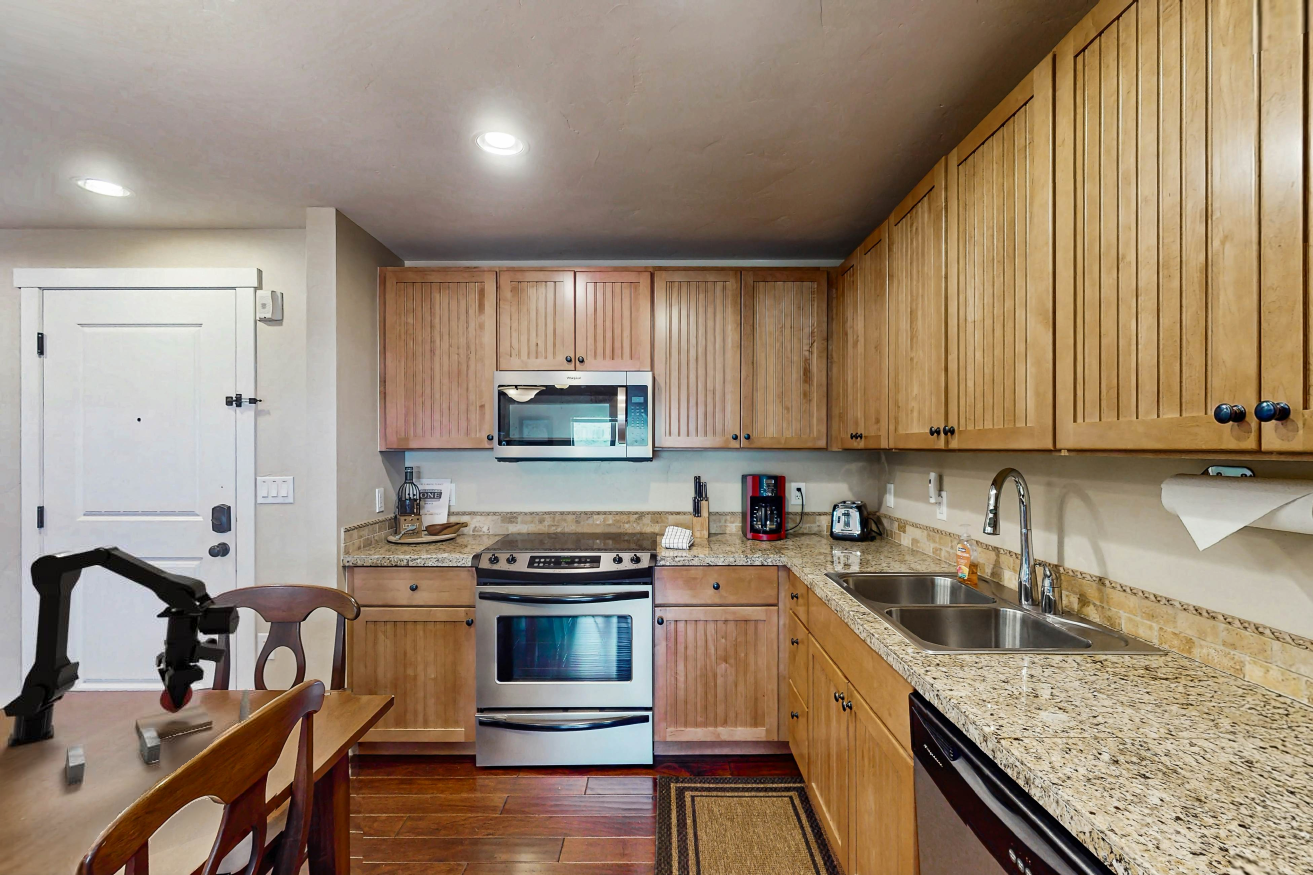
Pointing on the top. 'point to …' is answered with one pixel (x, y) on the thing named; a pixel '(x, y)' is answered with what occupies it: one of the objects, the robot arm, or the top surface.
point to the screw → (244, 706)
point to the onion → (167, 703)
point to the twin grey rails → (76, 760)
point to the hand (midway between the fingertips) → (175, 703)
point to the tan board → (175, 721)
